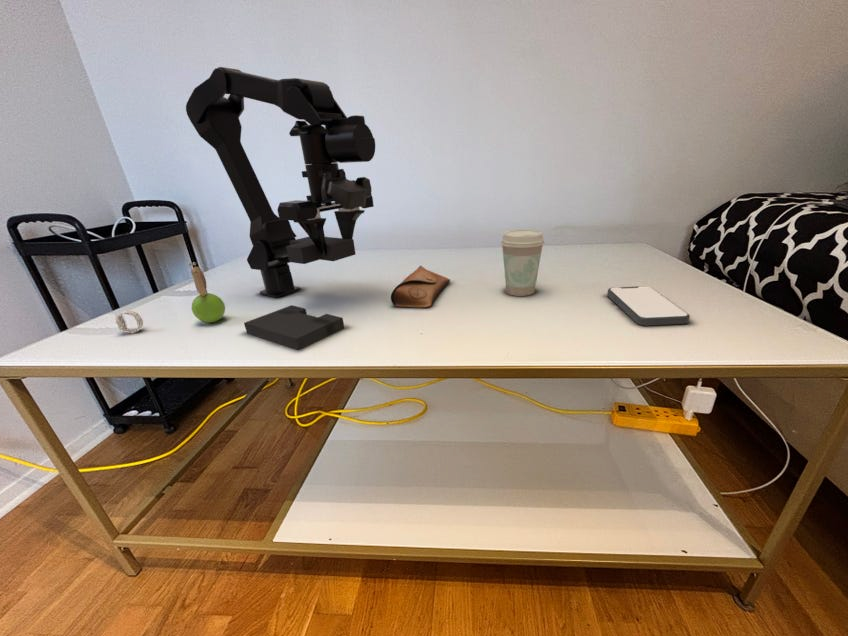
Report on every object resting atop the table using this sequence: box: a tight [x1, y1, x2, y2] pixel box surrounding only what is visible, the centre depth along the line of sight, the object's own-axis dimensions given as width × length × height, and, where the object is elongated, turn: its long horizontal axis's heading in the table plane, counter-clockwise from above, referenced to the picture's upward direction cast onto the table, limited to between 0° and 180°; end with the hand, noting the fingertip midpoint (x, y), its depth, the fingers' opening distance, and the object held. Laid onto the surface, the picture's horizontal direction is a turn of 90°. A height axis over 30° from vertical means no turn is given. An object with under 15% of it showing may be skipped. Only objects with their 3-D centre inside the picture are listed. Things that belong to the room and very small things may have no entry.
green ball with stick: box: [187, 261, 226, 323], centre depth 75 cm, size 5×6×12 cm
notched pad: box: [243, 305, 345, 351], centre depth 72 cm, size 14×10×2 cm
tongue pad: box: [286, 236, 357, 265], centre depth 81 cm, size 12×10×3 cm
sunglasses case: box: [390, 265, 451, 309], centre depth 87 cm, size 18×7×7 cm
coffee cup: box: [500, 229, 545, 297], centre depth 83 cm, size 9×9×12 cm
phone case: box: [606, 285, 691, 327], centre depth 74 cm, size 9×2×16 cm
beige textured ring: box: [114, 309, 144, 334], centre depth 74 cm, size 4×2×4 cm, turn 104°
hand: (336, 251), depth 81 cm, fingers closed on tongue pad, 6 cm apart
